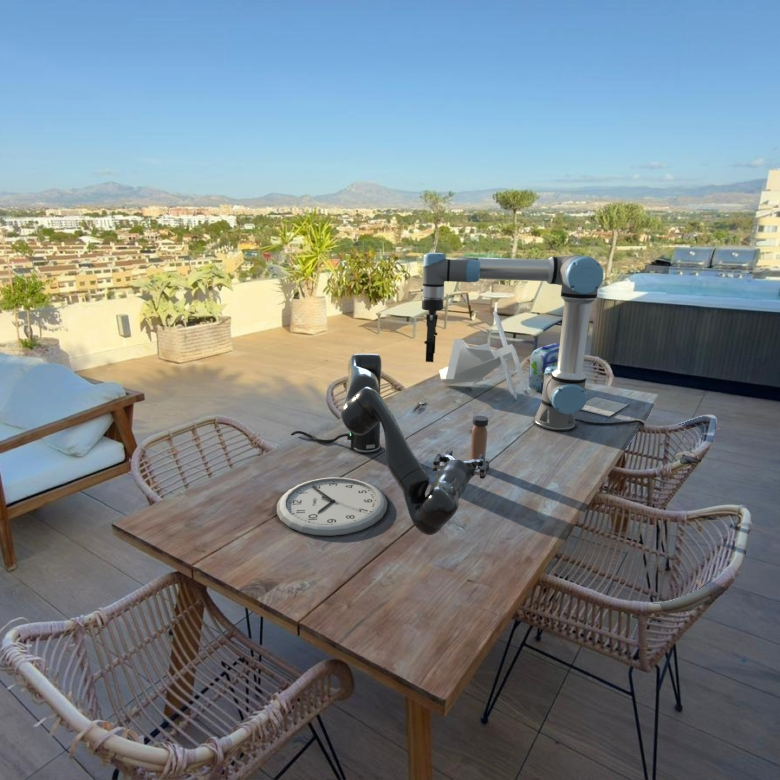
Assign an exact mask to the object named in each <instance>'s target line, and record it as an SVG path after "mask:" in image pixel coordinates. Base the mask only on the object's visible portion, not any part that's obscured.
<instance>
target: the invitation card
mask: <svg viewBox="0 0 780 780" xmlns="http://www.w3.org/2000/svg"><path fill="white" fill-rule="evenodd" d="M628 406H629V404H627V403H623V402H618V401H614V400H609V399H605V398H601V397H596V396H593V397H592V398H590V399H587V401H586V404H585V406H584V407H583V408H582V409H581V410H580V411H584V412H587V413H593V414H596V415H600V416H604V417H608V418H609V417H611V416H613V415H614V414H616V413H617V412H619V411H621V410H623V409H624V408H626V407H628Z"/></svg>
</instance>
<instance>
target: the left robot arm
mask: <svg viewBox="0 0 780 780" xmlns="http://www.w3.org/2000/svg"><path fill="white" fill-rule="evenodd" d="M349 357H350V358H349V360H348V365H347V372H348V378H347V383H346V393H345V399H344V402H343V404H342V406H341V408H340V417H341V420H342V423H343V425H344V426H345V428H346V429H347V430H348V432H345V433H341V434H339V435H336V436H335V437H333V438H331V439H321V438H317V437H316V436H315V435H312V434H310V433H308V432H305V431H302V430H294V431H292V432H291V433H290V436H294V435H297V434H299V435H302V436H306V437H307V438H309V439H313V440H314V441H315V442H317V443H323V444H324V443H325V444H326V443H328V444H329V443H334V442H336V441H338V440H339V439H340V438H344V437H346V439H347V440H348V441H350V450H353V451H355V452H356V453H360V454H373V453H376V452H378V451H380V449H381V426H382V429H383V435H384V447H385V450H384V451H385V461H386V467H387V469H388V471H389V474H390V475H391V476H392V478H393V479H394V481H395V483H396V485H397V486H398V487H399V490H401V492H402V494H403V499H404V501H405V504H406V507H407V511H408V514H409V517H410V519H411V521H412V524H413V525H414V527H415V528H416V529H417V530H418V531H419V532H420V533H422V534H424V535H428V536H433V535H435V534H437V533H438V532H439V531H440V530H441V529H442V528H443V527H444V526H445V525H446V524H447V523H448V522H449V521H450V520H451V519H452V518H453V517H454V515H455V514H456V513H457V511H458V509H459V505H460V504H459V500H460V498H461V496H462V495H463V494H464V492H465V490H466V489H467V486H468V485H469V482H470V480H471V478H472V477H473V476H475V475H476V476H479V479H481V480H484V479H485V478H486V476H487V475H488V473H489V471H490V461H489V460H486V457H485V456H483V454H480V456H479V458H478V460H474V459H472V460H470V459H468V460H462V459H461V460H460V459H456V458H454V457H453V449H448V450H447V451H446V452H445V453H443V454H442V453H436V455H435V457H434V458H433V460H432V471H434V472H437V471H438V470H439V472H438V473H437V475H436V477H435V480H434V481H433V483H432V485H431V486H430V489H429V491H428V488H429V485H430V482H431V478H430V476H429V474H428V472H427V471H426V470H425V468H424V466H423V465H422V464H421V462H420V461H419V460H418V458H417V456H416V455H415V454H414V452H413V451H412V449H411V447H410V446H409V444H408V442H407V439H406V438H405V436H404V433H403V432H402V429H401V428H400V425H399V424H398V422H397V420H396V418H395V416H394V414H393V412H392V411H391V409H390V407H389V405H388V403H387V401H386V399H384V398H383V396H382V395H381V384H382V383H381V382H382V381H381V380H382V369H383V367H382V366H383V364H382V357H381V356H380V354H379V353H354V354H352V355H351V356H349ZM307 433H308V434H307ZM471 464H472V465H471ZM477 464H478V466H477ZM427 491H428V494H427V495H426V493H427Z"/></svg>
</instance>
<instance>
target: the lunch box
mask: <svg viewBox="0 0 780 780" xmlns="http://www.w3.org/2000/svg"><path fill="white" fill-rule="evenodd" d="M559 346H560V343H551V344H548V345H544V346H541V347H538V348H536V349H534V350H533V351H532V353H531V355H530V359H529V370H528V371H529V372H528V389H531V390H536V391H541V392H543V382H544V373H545V369H546V368H547V367H553V366H557V364H558V355H559Z"/></svg>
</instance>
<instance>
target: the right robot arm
mask: <svg viewBox="0 0 780 780" xmlns="http://www.w3.org/2000/svg"><path fill="white" fill-rule="evenodd" d="M422 264H423V265H422V288H420V292H421V293H422V294H421V296H422V299H421V309H422V310H423V311H428V313H426V316H425V320H426V340H424V342H423V343H424V344H425V362H426V363H434V359H435V357H434V356H435V353H436V338H437V337H436V336H438V332H437V329H436V328H437V324H438V318H439V315H438V314H437V311H438V312H439V311H442V310H444V299H443V298H444V297H445V282H447V283H449V282H452V283H453V282H457V283H468V284H470V283H477V282H479V281H480V280H495V281H497V280H499V281H500V280H501V281H526V282H527V281H531V282H546V283H547V284H548V285H557V286H561V289H560V298H561V299H562V300H563V303H564V305H563V313H562V322H561V330H560V339H559V344H560V346H559V355H558V364H557V366H553V367H547V368H546V369H545V373H544V382H543V391H541V392H542V394H541V402H540V405H539V407H538V410H537V411H536V413H535V417H534V424H535V425H536V426H537V427H539V428H542V429H544V430H549V431H556V432H567V431H572V430H574V429H575V428H576V422H578V423H582V424H587V425H594V426H595V425H597V426H615V425H624V424H625V425H627V424H635V423H639V424H640V425H643V426H645V423H644V422H643V421H641V420H639V419H633V420H628V421H625V420H624V421H615V422H594V421H587V420H584V419H583V420H582V419H578V418H575V417H576V416H575V414H576V413H579V412H580V411H582V410H581V409H582V408H583V407H584V406H585V404H586V401H588V397H587V392H586V389H585V388H586V383H587V382H586V381H587V375H586V374H585V373H584V371H583V369H584V361H585V355H586V347H587V339H588V338H587V337H588V330H589V324H590V318H591V317H590V316H591V308H592V303H593V302H594V301H596V300H597V298H598V294H599V293H598V291H599V288H601V285H602V284H603V281H604V269H603V267H602V265H601V264H600V262H599V261H597V260H596V259H595V258H594V257H592V256H587V255H581V254H574V255H573V254H572V255H565V256H551V257H549V258H548V259H545V258H544V259H543V258H542V259H541V258H540V259H539V258H501V257H500V258H497V257H496V258H495V257H494V258H492V257H466V256H460V257H457V258H455V259H451V258H449V259H448V258H447V257H446V253H444V252H427V253H425V254H424V255H423V263H422Z"/></svg>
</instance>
